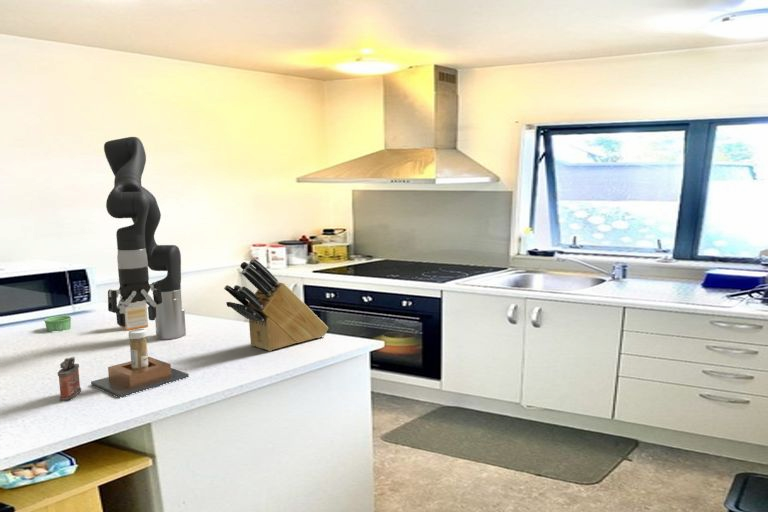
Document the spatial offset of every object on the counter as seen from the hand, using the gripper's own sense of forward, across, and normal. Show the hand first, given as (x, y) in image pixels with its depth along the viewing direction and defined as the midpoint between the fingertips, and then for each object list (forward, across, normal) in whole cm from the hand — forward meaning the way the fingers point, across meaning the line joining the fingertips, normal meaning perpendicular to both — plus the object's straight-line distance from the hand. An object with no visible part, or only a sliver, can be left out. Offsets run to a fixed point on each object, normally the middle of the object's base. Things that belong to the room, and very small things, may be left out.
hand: (137, 323), depth 159 cm
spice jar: (+16, 0, 0) cm, 16 cm away
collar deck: (+17, 0, 0) cm, 17 cm away
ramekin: (+18, -11, -82) cm, 85 cm away
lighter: (+17, +17, -4) cm, 24 cm away
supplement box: (+18, -30, -60) cm, 69 cm away
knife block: (+17, -48, +3) cm, 51 cm away
